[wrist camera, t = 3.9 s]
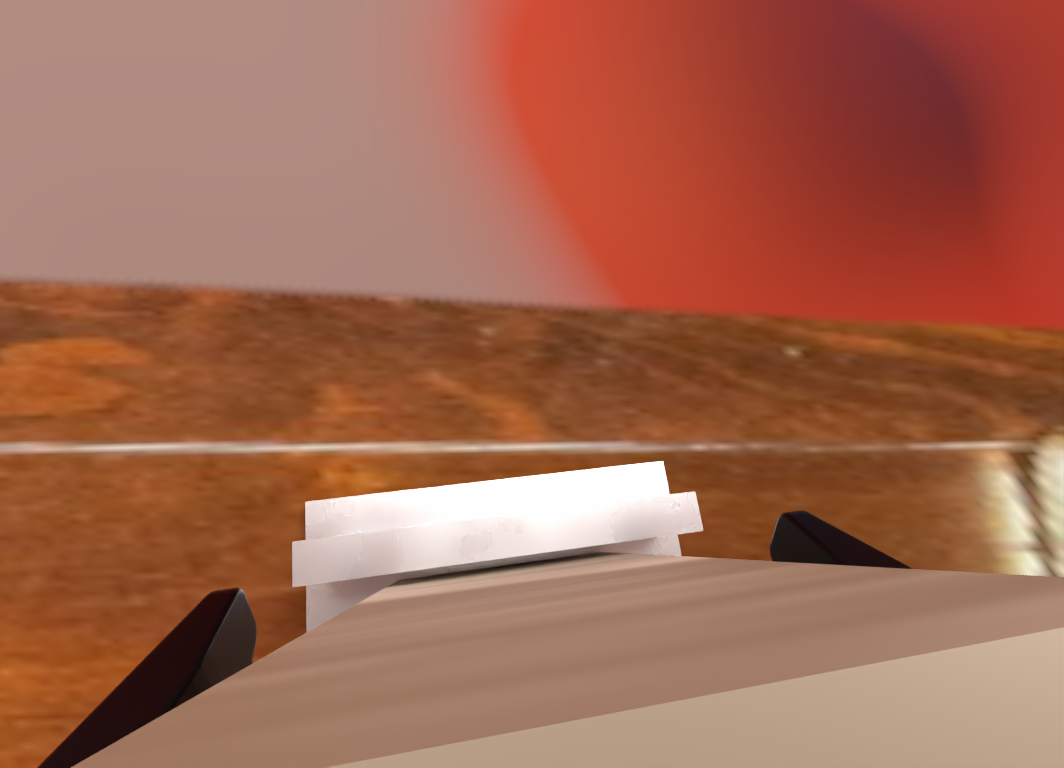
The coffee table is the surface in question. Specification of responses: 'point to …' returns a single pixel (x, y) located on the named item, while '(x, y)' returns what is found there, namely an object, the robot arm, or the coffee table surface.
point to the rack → (482, 529)
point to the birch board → (647, 673)
